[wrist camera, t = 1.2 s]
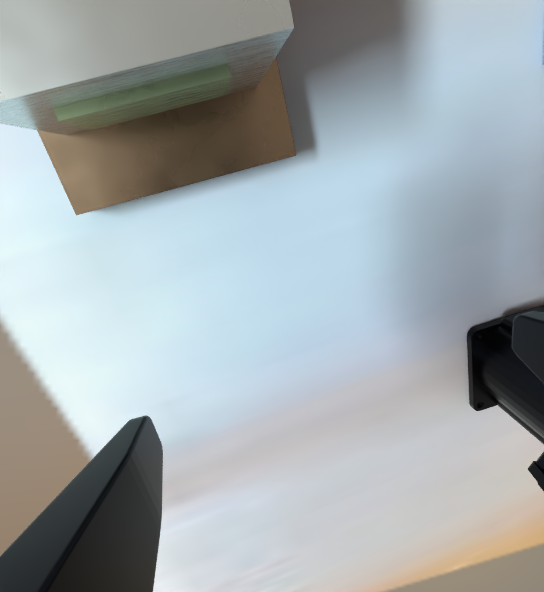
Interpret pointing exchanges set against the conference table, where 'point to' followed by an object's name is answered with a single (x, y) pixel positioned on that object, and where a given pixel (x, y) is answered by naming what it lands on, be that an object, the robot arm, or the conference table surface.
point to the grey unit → (145, 90)
